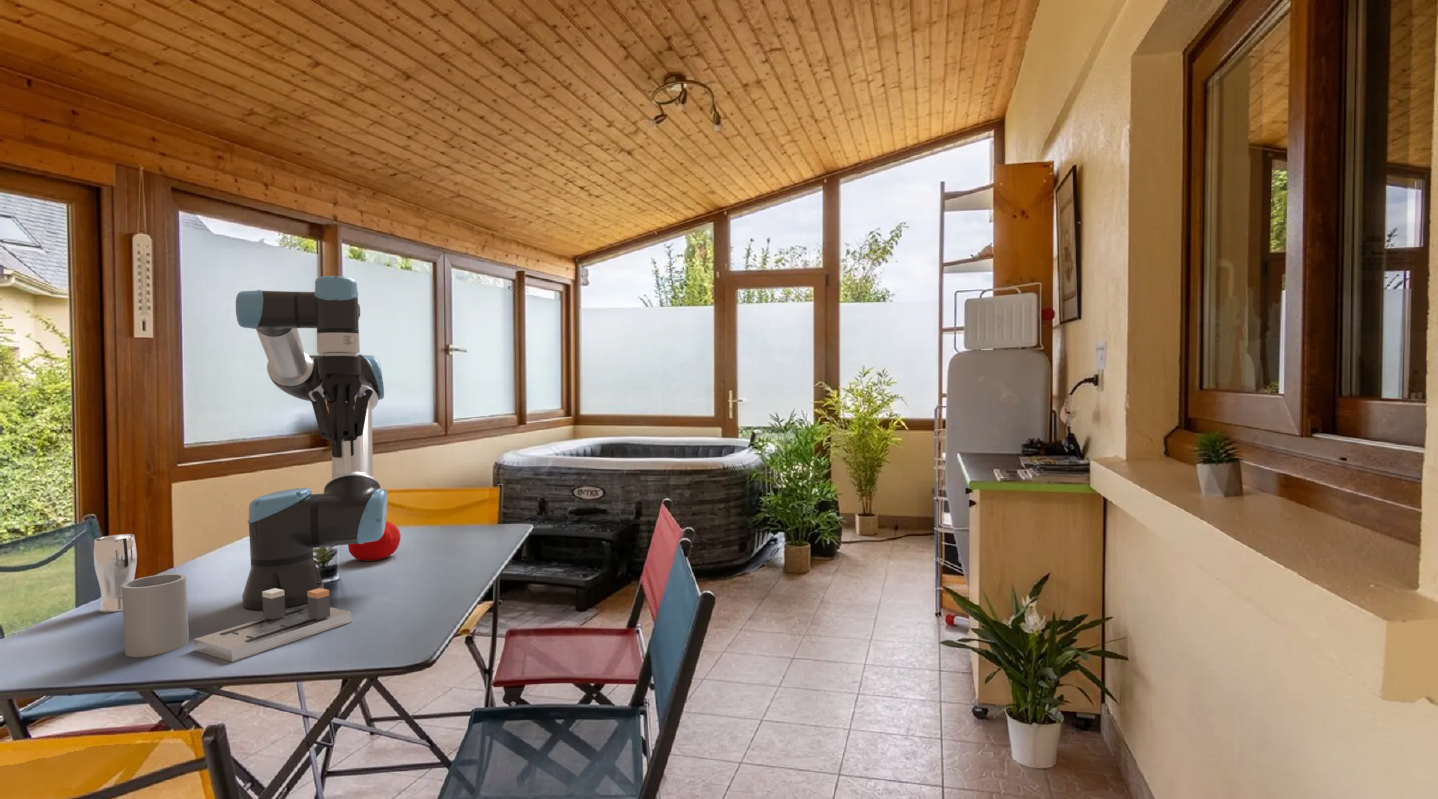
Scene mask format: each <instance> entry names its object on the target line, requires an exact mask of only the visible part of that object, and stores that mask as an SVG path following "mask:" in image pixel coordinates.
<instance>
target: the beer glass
mask: <svg viewBox="0 0 1438 799" xmlns="http://www.w3.org/2000/svg"><path fill="white" fill-rule="evenodd" d="M93 541H94V542H93V544H94V546H93V562H94V563H93V565H94V569H95V570H94V571H95V574H96V578H97V581H98V584H99V588H100V589H99V590H100V604H99V608H98V610H99V612H101V613H115V612H123V604H122V585H123V584H124V583H126V582H128V581H131V580H135V578H136V577H135V576H136V570H137V562H138V560H137V559H138V552H137V545H136V538H135V534H132V533H124V534H122V533H121V534H113V535H106V536H105V535H104V536H101V537H97V538H95V539H94V540H93Z"/></svg>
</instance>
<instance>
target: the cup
mask: <svg viewBox="0 0 1438 799" xmlns="http://www.w3.org/2000/svg"><path fill="white" fill-rule="evenodd" d="M187 588H188V586H187V575H185V574H182V573H165V574H156V575H149V576H145V577H144V576H143V577H139V578H136V579H135V578H134V580H131V581H128V582H126V583H124V584H123V585H122V604H123V610H122V617H123V618H122V620H123V621H122V622H123V636H124V639H123V640H124V654H125V656H127V657H132V658H140V657H141V658H143V657H151V656H157V655H162V654H167V653H170V652H174V651H176V650H179V649H181V648H183V647H185V646H187V645H188V644H189V643H190V633H189V629H190V628H189V612H188V610H189V609H188V594H187V593H188V591H187Z"/></svg>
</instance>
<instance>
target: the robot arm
mask: <svg viewBox="0 0 1438 799" xmlns="http://www.w3.org/2000/svg"><path fill="white" fill-rule="evenodd" d="M235 315H236V321H237V323H238V326H239V327H242V328H243V329H244V328H245V329H252V330H254V329H255V330H256V331H255V332H256V334H257V335H258V339H259V342H260V344H261V346H262V348H263V350H264V354H265V356H266V359H267V365H266V371H267V374H268V376H269V378H270V380H271V381H272V383H273V384H274V385H275V386H276V387H277V388H279V390H281V391H283V392H284V393H286V394H287V395H290V396H292V397H294V398H297V399H299V400H303V401H306V402H307V401H309V402H311V405H312V406H311V407H312V409H313V412H314V416H315V420H316V423H317V428H318V430H319V434H320V438H321V439H324V440H327V441H329V442H330V443H331V455H332V456H331V480H329V481H328V482H327V483H326V484H325V486H324V488H323V493H316V494H315V493H314V494H313V492H312V490H311V488H309V487H299V488H291V489H284V490H280V491H276V492H271V493H268V494H264V495H260V496H258V497H256V498H254V499H253V500H251V502H250V503H249V504H248V505H249V506H248V520H247V524H248V530H249V531H248V534H249V551H250V552H249V553H250V554H249V555H250V570H249V573H248V576H247V579H246V582H245V586H244V589H243V593H242V607H244V608H245V609H249V610H256V611H263V597H262V592H263V591H266V590H270V589H274V588H276V589H281V590H284V596H285V609H287V608H291V607H296V606H300V605H304V604H308V596H307V591H311V590H314V589H318V588H322V589H325V588H324V587H325V586H324V581H323V578H322V577H321V574H320V572H319V570H318V567H317V564H316V562H315V561H314V560H315V559H314V549H316V548H324V547H325V548H326V547H336V546H345V545H346V546H348V544H358V543H359V544H363V543H365V542H372V541H377V540H379V539H380V538H381V537H382V536H383V534H384V530H385V524H386V522H387V514H388V512H387V511H388V490H387V489H384V488H381V484H380V482H379V481H378V480H376V479H375V478H374V464H373V463H374V456H373V455H374V454H373V413H372V412H373V410H374V409H375V408H376V407H377V405H378V402H379V401H380V400H382V399H384V397H385V388H384V379H383V372H382V368H381V367H382V366H381V364H380V360H379V359H378V357H376V356H375V355H367V354H360V351H361V350H360V328H359V325H360V324H359V320H360V317H361V307H360V304H359V291H358V284H357V281H356V279H355V278H353V277H349V276H340V275H339V276H338V275H337V276H336V275H325V276H318V277H317V278H316V279H315V282H314V291H285V290H284V291H283V290H282V291H281V290H277V291H276V290H262V289H258V290H241V291H239V292H238V293H237V295H236V297H235ZM299 329H316V350H317V353H318V354H319V355H318V354H315V355H308V354H307V353H305V350H304V346H303V344H302V340H301V336H300V333H299Z"/></svg>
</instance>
